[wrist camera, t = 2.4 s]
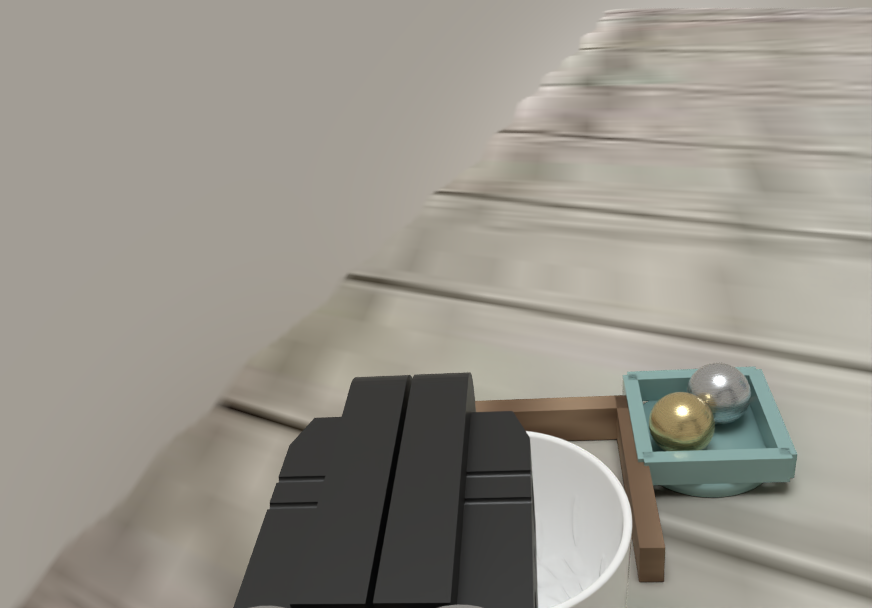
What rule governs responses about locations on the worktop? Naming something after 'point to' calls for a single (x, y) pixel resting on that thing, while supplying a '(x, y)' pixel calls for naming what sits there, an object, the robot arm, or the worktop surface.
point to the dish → (713, 439)
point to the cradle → (613, 422)
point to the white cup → (578, 527)
